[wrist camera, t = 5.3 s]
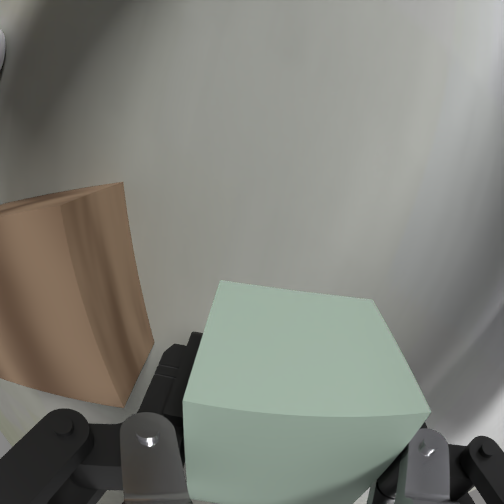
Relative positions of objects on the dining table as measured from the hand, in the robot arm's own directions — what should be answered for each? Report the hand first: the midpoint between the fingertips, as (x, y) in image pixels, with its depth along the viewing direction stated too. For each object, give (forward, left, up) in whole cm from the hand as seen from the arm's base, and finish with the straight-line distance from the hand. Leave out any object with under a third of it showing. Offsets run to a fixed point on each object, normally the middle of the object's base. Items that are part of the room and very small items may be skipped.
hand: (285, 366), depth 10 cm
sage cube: (0, 0, -1) cm, 1 cm away
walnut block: (+13, +2, -7) cm, 15 cm away
